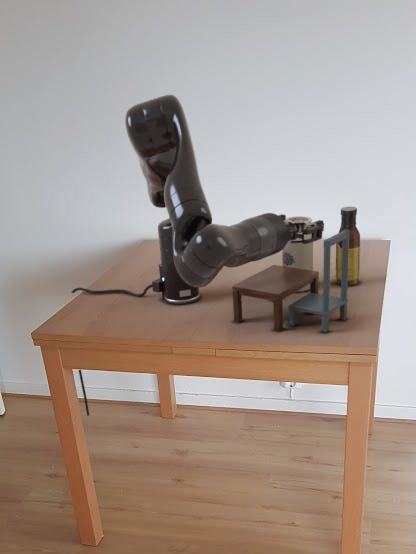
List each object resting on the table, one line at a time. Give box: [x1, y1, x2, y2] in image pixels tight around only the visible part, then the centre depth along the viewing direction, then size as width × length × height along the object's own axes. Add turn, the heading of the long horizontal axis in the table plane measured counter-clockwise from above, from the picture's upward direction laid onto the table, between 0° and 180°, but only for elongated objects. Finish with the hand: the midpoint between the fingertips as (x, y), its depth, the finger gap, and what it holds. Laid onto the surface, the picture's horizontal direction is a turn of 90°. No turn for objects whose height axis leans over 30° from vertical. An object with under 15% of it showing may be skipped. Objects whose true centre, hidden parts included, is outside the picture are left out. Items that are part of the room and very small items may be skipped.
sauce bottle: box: [335, 206, 361, 287], centre depth 178 cm, size 7×6×20 cm
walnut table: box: [231, 264, 320, 332], centre depth 165 cm, size 13×18×9 cm
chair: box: [288, 230, 349, 333], centre depth 156 cm, size 10×10×21 cm
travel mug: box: [281, 215, 314, 293], centre depth 178 cm, size 8×8×18 cm
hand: (302, 222), depth 135 cm, fingers open, 8 cm apart
